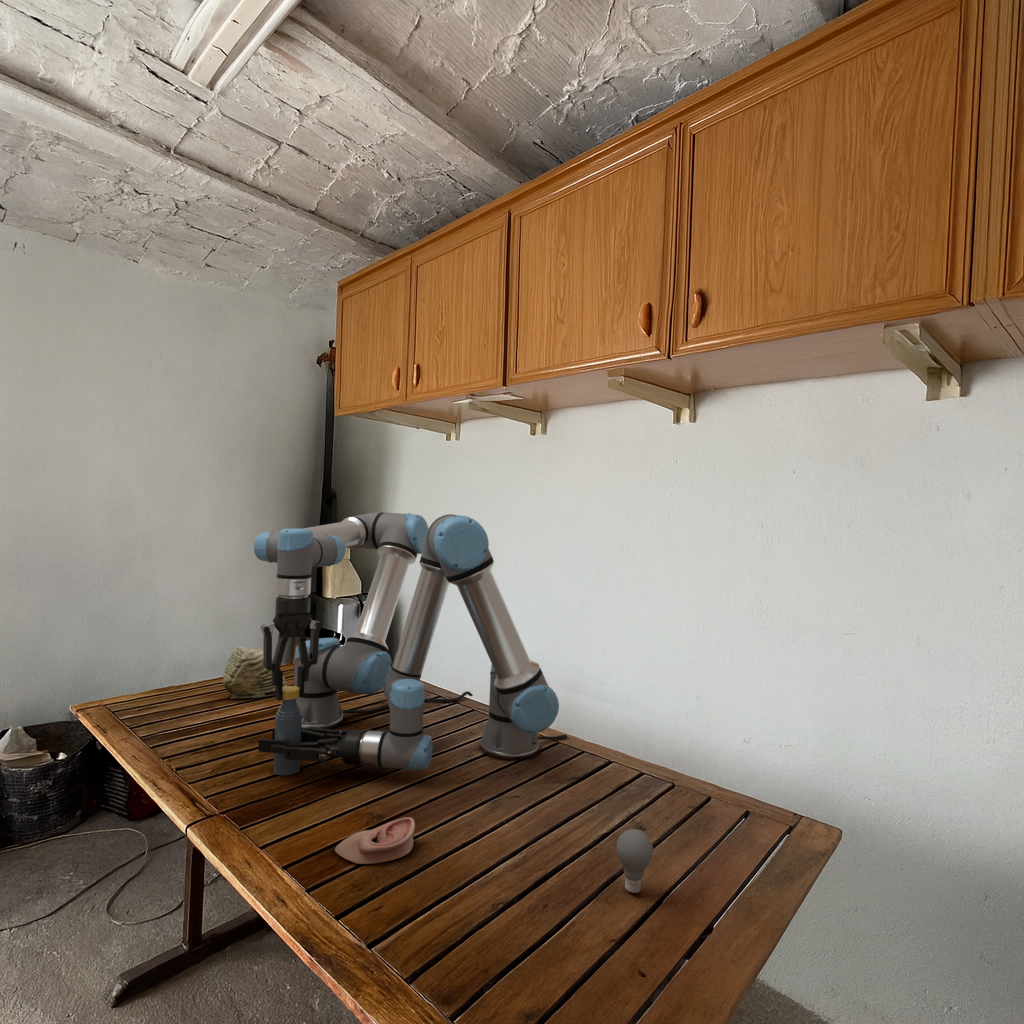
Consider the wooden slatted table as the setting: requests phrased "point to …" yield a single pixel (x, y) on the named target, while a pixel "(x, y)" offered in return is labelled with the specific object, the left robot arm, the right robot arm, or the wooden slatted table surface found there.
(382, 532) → the left robot arm
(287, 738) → the bottle
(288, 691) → the cap
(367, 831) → the anatomical model
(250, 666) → the fossil
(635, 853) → the light bulb
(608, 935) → the wooden slatted table surface
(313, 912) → the wooden slatted table surface
